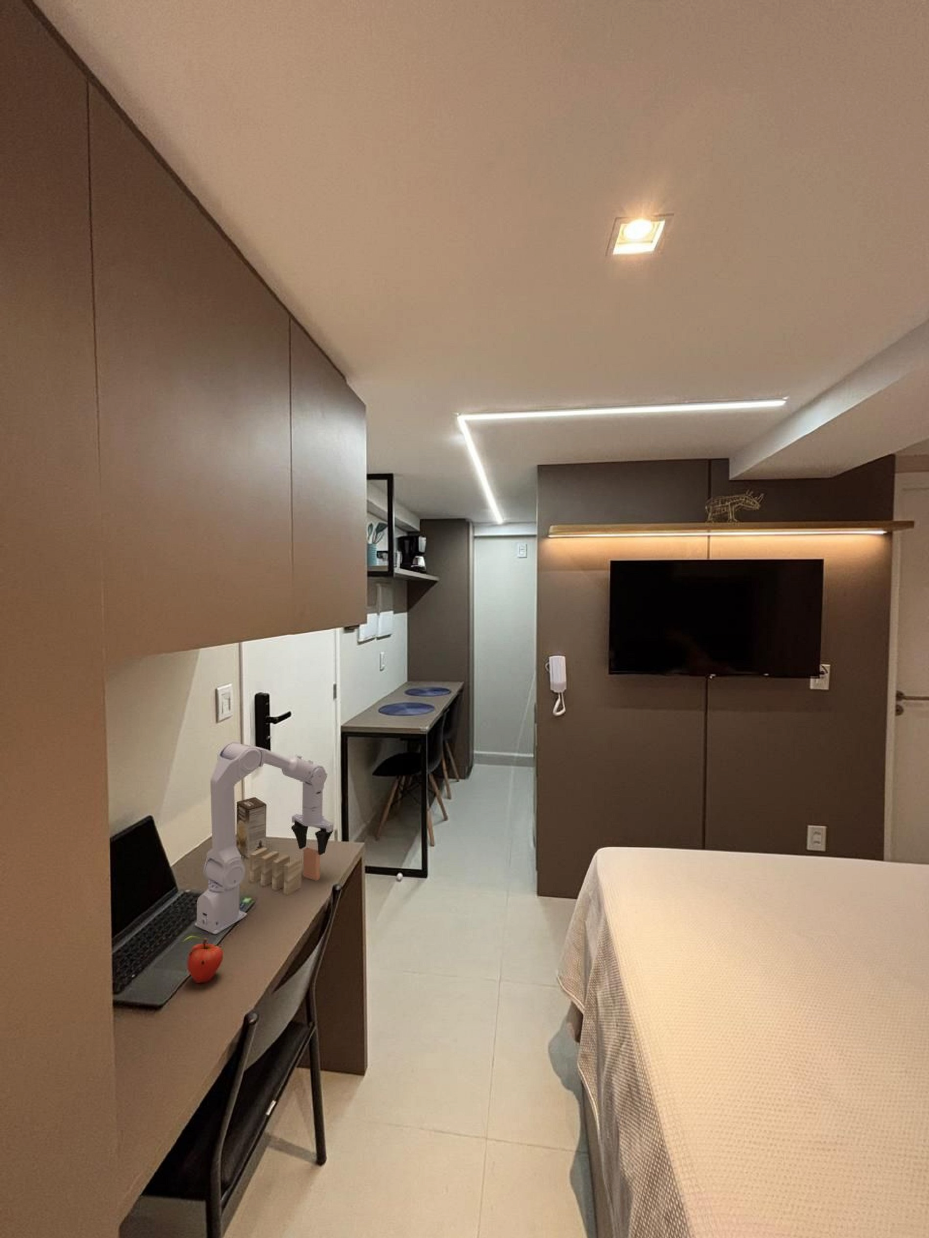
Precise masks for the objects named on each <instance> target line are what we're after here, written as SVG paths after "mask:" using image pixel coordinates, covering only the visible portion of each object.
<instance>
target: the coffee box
mask: <svg viewBox="0 0 929 1238" xmlns="http://www.w3.org/2000/svg"><path fill="white" fill-rule="evenodd" d="M267 806H268V805H267V803H265V802H264V801H262V800H260V799H259V798H257V797H256V796H254V797H249V798H245V799H242V800H239V801H236V828H235V834H236V847H237V849H238V851H239V853H240V855H243V856H244V857H245V858H247V859H250V854H251V853H253V852H255V851H257V850H259V849H262V848H267Z"/></svg>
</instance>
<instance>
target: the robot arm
mask: <svg viewBox="0 0 929 1238" xmlns="http://www.w3.org/2000/svg"><path fill="white" fill-rule="evenodd" d="M216 755H217V763H216V765H215V767H214V770H213V772H212V775H211V778H210V810H211V812H210V813H211V814H210V815H211V841H212V842H211V843H212V844H211V846H212V847H211V848H210V850H209V851H207V852H206V859H205V863H204V865H203V874H204V876H205V878H207V883H208V887H207V889H206V890H205V891H204V893H202V894H201V895H200V896H198V898H197V902H196V922H194V926H195V927H197V928H200V929H202V930H204V931H207V932H209V933H211V934H213V935H217V934H219V933H220V932H222V931H224V930H225V929H227V928H229V927H230V926H232V925H234V924H235V923H237V922H238V921H240V920H242V919H243V918H245V917H247V915H248V914H247V912H244V911H241V910H240V887H241V883H242V882H243V880H244V878H245V875H246V866H245V865H244V864H243V861H242V854H241V853H240V852H239V851H238V849H237V847H236V810H235V809H236V807H235V805H236V803H235V799H236V798H235V786H236V784H238V782H240V781H242V780H243V779H244V778H245V777H247V776H249V775H250V774H251V773H253V772H254V771H255V770H256V769H258V767H260V768H261V767H263V765H264V764H266V765H269V766H272V767H274V768H277V769H281V773H282V775H284V776H285V777H289V778H292V779H294V780H297V781H299V782H301V783H302V804H301V805H302V807H301V808H302V809H301V811H302V814H297V813H296V814H294V815H292V816H291V823H293V825H291V827H290V828H291V831H292V832H293V835H294V836H295V838H296V842H297V847H298V849H299V850H302V849H305V848H307V837H308V836H307V835H308V834H307V833H308V829H309V828H310V827H311V828H312V827H313V828H316V829H319V830H317V831H316V832H315V833H314V835H315V838H316V841H317V851H318V854H319V855H320V856H321V855H323V854H325V853H326V849H327V846H328V843H329V840H330V837H331V835H332V833H333V832H334V823H332V822H330V821H328V820H326V818H325V817H324V815H323V795H324V793H323V791H324V789H325V783H326V780H327V778H328V773H327V772H326V769H325V768H324V767H323V766H322V765H318V764H315V763H314V761H312V760H310V759H309V760H306V759H304V758H302V756H301V755H298V754H295V755H289V756H287V757H286V756H285V757H284V756H283V755H280V754H278V753H276V752H273V751H271V750H269V749H266V748H263V747H260V746H259V747H258V746H255V745H250V744H245V743H243V744H241V743H239V742H237V741H231V742H228V743H227V744H226V745H225V746H223V747H222V749H221V750H219V752H217V754H216Z"/></svg>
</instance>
